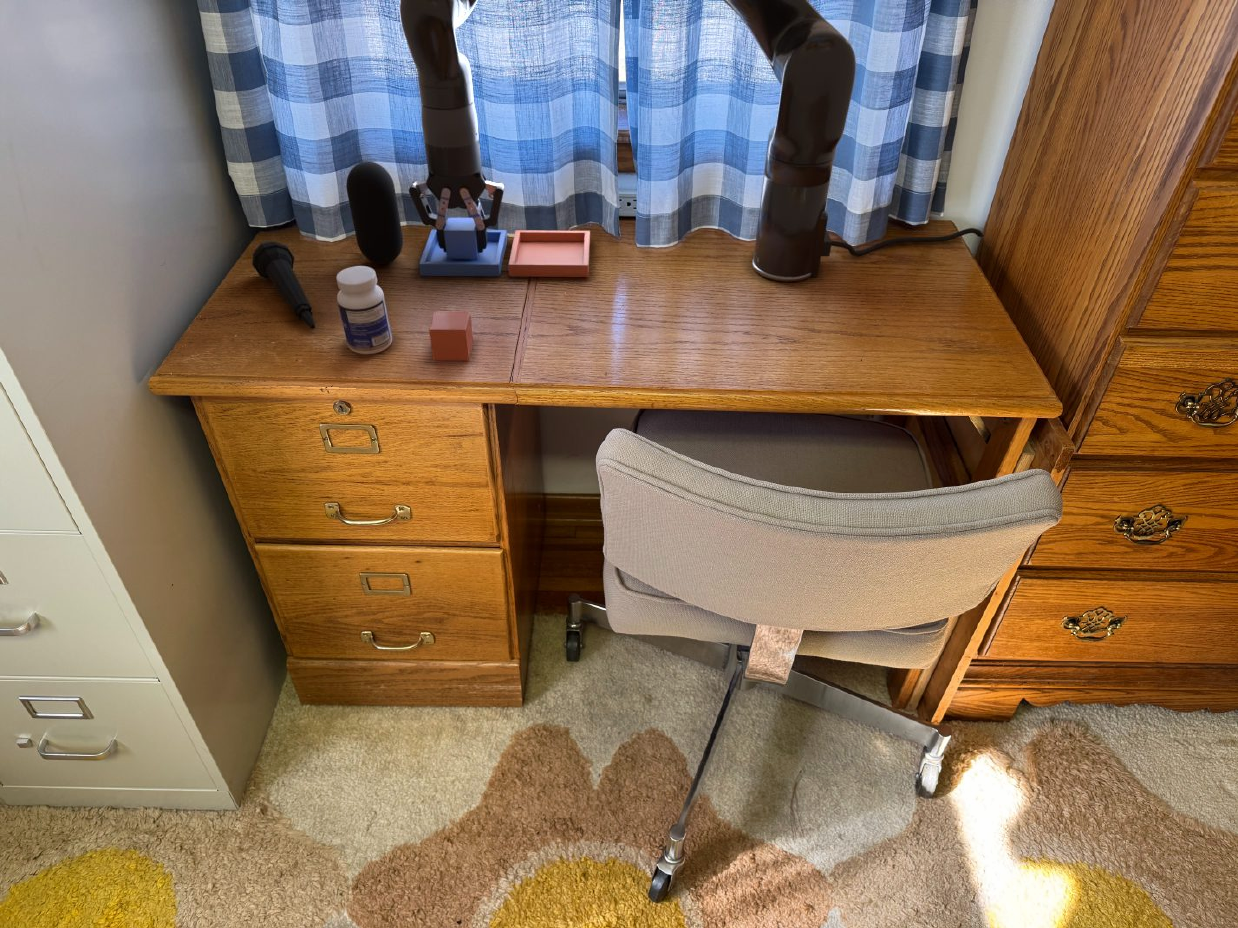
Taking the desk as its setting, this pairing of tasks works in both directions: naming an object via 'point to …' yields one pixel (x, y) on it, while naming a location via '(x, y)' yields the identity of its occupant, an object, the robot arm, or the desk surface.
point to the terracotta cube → (451, 335)
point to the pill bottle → (363, 310)
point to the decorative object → (374, 212)
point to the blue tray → (484, 265)
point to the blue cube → (461, 238)
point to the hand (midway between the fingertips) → (464, 250)
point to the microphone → (283, 277)
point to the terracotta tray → (550, 253)
